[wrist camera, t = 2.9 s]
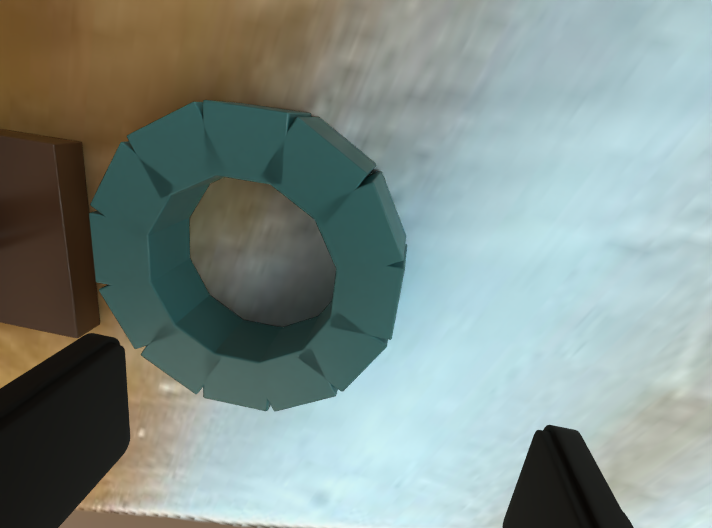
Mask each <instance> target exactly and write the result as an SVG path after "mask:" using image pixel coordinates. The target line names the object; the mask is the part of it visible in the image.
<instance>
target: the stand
mask: <svg viewBox="0 0 712 528" xmlns="http://www.w3.org/2000/svg"><path fill="white" fill-rule="evenodd" d="M0 322H1V323H6V324H11V325H16V326H20V327H25V328H30V329H35V330H40V331H44V332H49V333H54V334H59V335H64V336H68V337H73V338H79V337H81V336H82V335H84V334H85V333H87V332H89V331H90V330H92V329H93V328H95V327H96V326H98V325H99V324H100V318H99V308H98V298H97V288H96V279H95V269H94V259H93V249H92V239H91V229H90V220H89V209H88V199H87V190H86V180H85V170H84V160H83V150H82V143H81V142H78V141H72V140H66V139H60V138H53V137H47V136H41V135H35V134H28V133H22V132H16V131H10V130H4V129H0Z"/></svg>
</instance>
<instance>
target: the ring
mask: <svg viewBox="0 0 712 528" xmlns="http://www.w3.org/2000/svg"><path fill="white" fill-rule="evenodd" d="M127 138H128V140H129V141H128V142H121V143H120V145H119V147H118V149H117V151H116V153H115V155H114V157H113V159H112V161H111V163H110V165H109V167H108V169H107V171H106V173H105V175H104V177H103V179H102V181H101V183H100V185H99V187H98V189H97V192H96V194H95V196H94V198H93V200H92V202H91V204H90V205H91V206H92V207H93V208H95V209H96V210H97V211H94V212H91V213H89V220H90V229H91V239H92V249H93V259H94V269H95V279H96V282H98V283H103V284H108V285H106V286H104V287H102V288H100V289H99V292H100V293H101V295H102V296H103V298H104V300H105V301H106V303H107V305H108V306H109V308H110V309H111V311H112V313H113V314H114V316H115V318H116V319H117V321H118V322H119V324H120V326H121V327H122V329H123V330H124V332H125V334H126V335H127V337H128V339H129V340H130V342H131V343H132V345H133V347H134V348H135V349H137V348H141V347H144V346H146V347H145V349H144V350H143V352H142V353H141V356H143V357H144V358H145V359H147V360H148V361H150V362H151V363H152V364H154V365H155V366H157V367H158V368H159V369H161V370H162V371H164V372H165V373H167V374H168V375H169V376H171V377H172V378H174V379H175V380H176V381H178V382H179V383H181V384H182V385H183V386H185V387H186V388H188V389H189V390H190V391H192V392H193V393H195V394H197V393H198V392H199V391H200V390H201V389H202V387H203V397H204V398H207V399H212V400H217V401H221V402H226V403H231V404H235V405H240V406H244V407H249V408H254V409H258V410H263V411H267V410H268V409H269V407H270V405H271V406H272V408H273V410H274V411H279V410H283V409H287V408H291V407H295V406H299V405H303V404H307V403H311V402H315V401H318V400H322V399H326V398H330V397H334V396H336V394H337V391H338V389H339V390H340V391H344V390H345V389H346V388H347V387H348V386H349V385H350V384H351V383H352V382H353V381H354V380H355V379H356V378H357V377H358V376H359V375H360V374H361V373H362V372H363V371H364V370H365V369H366V368H367V367H368V366H369V364H370V363H371V362H372V361H373V360H374V359H375V358H376V357H377V356H378V355H379V354H380V353H381V352H382V351H383V350H384V349H385V348H386V347H387V343H388V339H389V340H391V339H392V334H393V329H394V323H395V318H396V313H397V307H398V302H399V297H400V292H401V286H402V281H403V276H404V271H405V261H406V251H407V244H405V242H406V234H405V232H404V229H403V226H402V224H401V221H400V218H399V216H398V213H397V211H396V208H395V205H394V203H393V200H392V197H391V195H390V192H389V189H388V187H387V184H386V181H385V179H384V176H383V174H382V172H381V171H380V172H377V173H375V174H372V175H370V176H368V175H369V174H370V173H371V171H372V170H373V169H374V167H375V166H376V163H375V162H373V161H372V160H371V159H370V158H369V157H367V156H366V155H365V154H364V153H362V152H361V151H360V150H359V149H358V148H356V147H355V146H354V145H353V144H351V143H350V142H349V141H348V140H347V139H345V138H344V137H343V136H342V135H340V134H339V133H338V132H337V131H336V130H334V129H333V128H332V127H331V126H330V125H328V124H327V123H326V122H325V121H323V120H322V119H321V118H320V117H311V113H306V112H300V111H293V110H286V109H279V108H272V107H265V106H258V105H252V104H245V103H235V102H224V101H212V100H204V101H203V102H192V103H190V104H188V105H186V106H184V107H182V108H180V109H178V110H176V111H174V112H172V113H170V114H168V115H166V116H164V117H162V118H160V119H158V120H156V121H154V122H152V123H150V124H148V125H146V126H144V127H142V128H141V129H139V130H137V131H135V132H133V133H131V134H129V135H127ZM224 177H228V178H234V179H240V180H247V181H253V182H259V183H265V184H270V185H272V186H273V187H274V188H275V189H277V190H278V191H279V192H280V193H282V194H283V195H284V196H285V197H287V198H288V199H289V200H291V201H292V202H293V203H294V204H296V205H297V206H298V207H299V208H301V209H302V210H303V211H304V212H306V213H307V214H308V215H310V216H311V217H312V218H313V219H315V221H316V224H317V226H318V228H319V230H320V233H321V235H322V237H323V240H324V242H325V244H326V246H327V249H328V251H329V253H330V256H331V258H332V260H333V262H334V265H335V267H336V275H335V283H334V291H333V299H332V301H331V302H330V304H329V305H328V306H327V307H326V308H325V309H324V311H323V312H322V313H321V314H320V315H319V316H317V317H314V318H311V319H308V320H304V321H301V322H298V323H295V324H292V325H289V326H285V327H277V326H272V325H267V324H261V323H256V322H251V321H246V320H243V319H241V318H240V317H239V316H237V315H236V314H235V313H233V312H232V311H231V310H229V309H228V308H227V307H225V306H224V305H223V304H221V303H220V302H219V301H217V300H216V299H214V298H213V297H212V296H210V295H209V293H208V291H207V289H206V287H205V285H204V283H203V282H202V280H201V278H200V276H199V274H198V272H197V270H196V269H195V267H194V265H193V263H192V261H191V259H190V228H189V218H190V216H191V214H192V213H193V211H194V209H195V208H196V206H197V204H198V203H199V201H200V200H201V198H202V196H203V195H204V193H205V191H206V190H207V188H208V186H209V185H210V183H213V182H215V181H217V180H219V179H222V178H224Z"/></svg>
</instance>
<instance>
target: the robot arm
mask: <svg viewBox="0 0 712 528" xmlns="http://www.w3.org/2000/svg"><path fill="white" fill-rule="evenodd" d="M129 441H130V426H129V410H128V394H127V377H126V361H125V350H124V348H123V346H121V345H120V343H119V341H118V339H116V338H114V337H109V336H104V335H99V334H94V333H89V334H87V335H84V336H83V337H81V338H80V339H78V340H76V341H75V342H73V343H72V344H70V345H69V346H67V347H65V348H64V349H62V350H61V351H59V352H57V353H56V354H54V355H53V356H51V357H50V358H48V359H46V360H45V361H43V362H42V363H40V364H39V365H37V366H35V367H34V368H32V369H31V370H29V371H27V372H26V373H24V374H23V375H21V376H20V377H18V378H16V379H15V380H13V381H12V382H10V383H8V384H7V385H5V386H4V387H2V388H1V389H0V528H58V527H59V526H60V525H61V524H62V523H63V522H64V521H65V519H66V518H67V517H68V516H69V515H70V514H71V513H72V512H73V511H74V509H75V508H76V507H77V506H78V505H79V504H80V503H81V502H82V500H83V499H84V498H85V497H86V496H87V495H88V494H89V493H90V491H91V490H92V489H93V488H94V487H95V486H96V485H97V484H98V482H99V481H100V480H101V479H102V478H103V477H104V476H105V475H106V473H107V472H108V471H109V470H110V469H111V468H112V467H113V465H114V464H115V463H116V462H117V461H118V460H119V459H120V458H121V456H122V455H123V454H124V453H125V451H126V449H127V447H128V445H129ZM503 528H633V526H632V524H631V522H630V520H629V519H628V518H627V516H626V515H625V513H624V512H623V511H622V510H621V508H620V506H619V504H618V502H617V501H616V499H615V497H614V495H613V493H612V491H611V489H610V488H609V486H608V484H607V482H606V480H605V478H604V477H603V475H602V473H601V471H600V469H599V467H598V465H597V464H596V462H595V460H594V458H593V456H592V454H591V453H590V451H589V449H588V447H587V445H586V443H585V442H584V440H583V438H582V436H581V434H580V433H579V432H578V431H576V430H573V429H568V428H563V427H558V426H553V425H547V426H546V427H545V428H544V430H543V431H542V430H537V431H536V432H535V434H534V436H533V439H532V442H531V445H530V448H529V451H528V453H527V456H526V459H525V462H524V465H523V467H522V470H521V473H520V476H519V479H518V482H517V484H516V487H515V490H514V493H513V496H512V498H511V501H510V504H509V507H508V510H507V512H506V515H505V518H504V522H503Z"/></svg>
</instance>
